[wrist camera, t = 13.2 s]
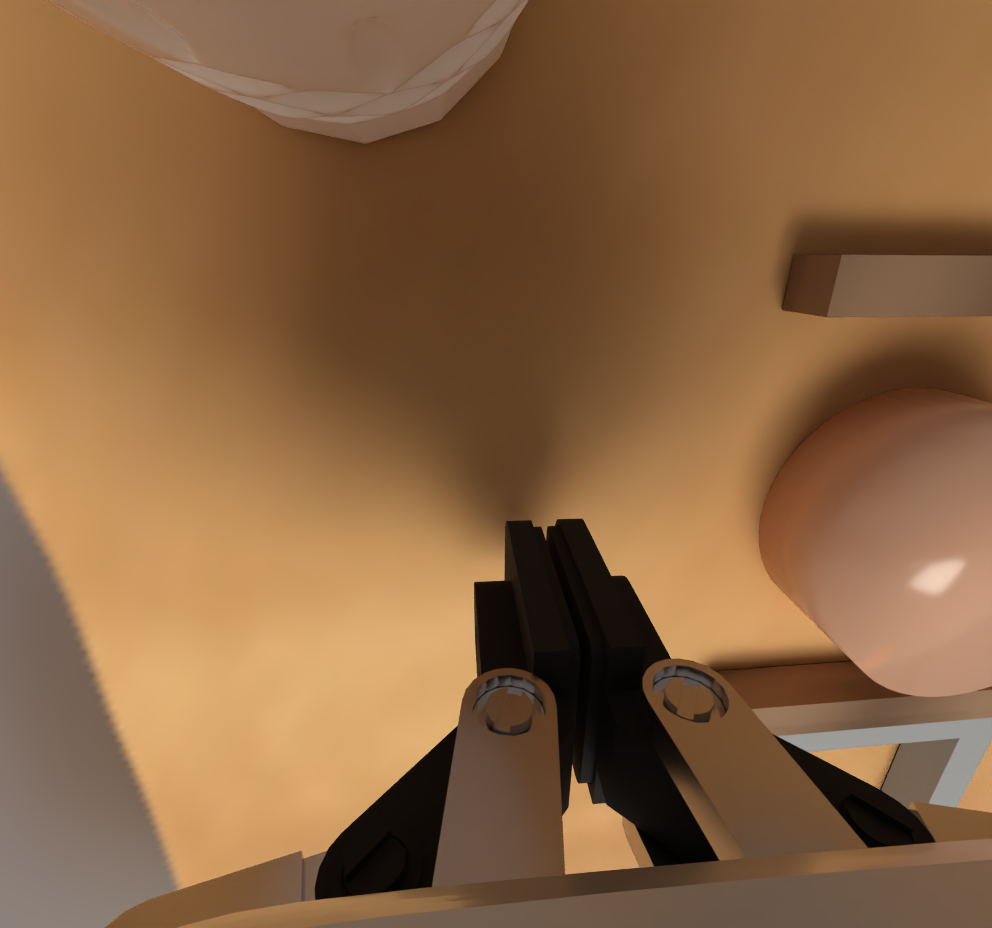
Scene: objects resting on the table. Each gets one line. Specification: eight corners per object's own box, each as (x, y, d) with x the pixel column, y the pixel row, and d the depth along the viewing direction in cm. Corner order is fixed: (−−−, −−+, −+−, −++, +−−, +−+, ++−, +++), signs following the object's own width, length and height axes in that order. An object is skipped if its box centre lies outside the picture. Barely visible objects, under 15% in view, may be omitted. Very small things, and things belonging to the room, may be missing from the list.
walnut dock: (1256, 257, 13) (1357, 257, 11) (1037, 673, 18) (1087, 709, 16) (793, 255, 12) (841, 254, 10) (701, 700, 17) (724, 740, 15)
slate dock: (963, 671, 17) (1008, 707, 16) (855, 907, 22) (883, 950, 21) (612, 698, 16) (627, 739, 15) (582, 940, 21) (592, 988, 20)
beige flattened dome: (1032, 380, 14) (1216, 419, 10) (949, 597, 16) (1074, 682, 13) (781, 392, 13) (893, 438, 10) (737, 616, 16) (815, 710, 12)
